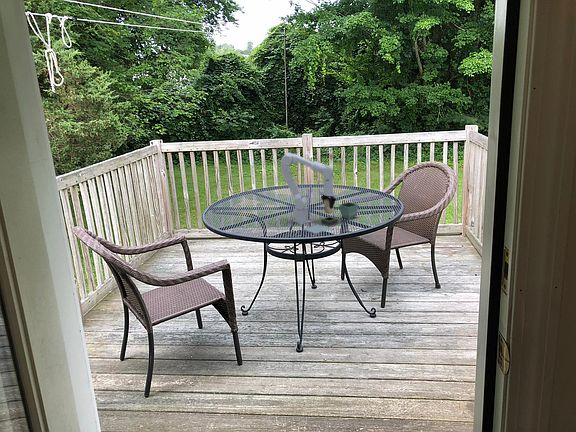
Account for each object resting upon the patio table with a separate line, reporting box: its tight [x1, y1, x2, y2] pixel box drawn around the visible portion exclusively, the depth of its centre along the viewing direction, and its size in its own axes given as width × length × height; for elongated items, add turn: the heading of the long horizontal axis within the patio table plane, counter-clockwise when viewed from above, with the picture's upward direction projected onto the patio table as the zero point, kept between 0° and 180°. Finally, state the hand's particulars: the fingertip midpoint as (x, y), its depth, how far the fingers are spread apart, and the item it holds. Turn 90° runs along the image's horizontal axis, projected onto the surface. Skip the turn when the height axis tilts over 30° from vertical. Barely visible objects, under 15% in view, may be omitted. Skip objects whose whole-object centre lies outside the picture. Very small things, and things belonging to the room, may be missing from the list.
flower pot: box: [338, 201, 359, 220], centre depth 289 cm, size 9×9×9 cm
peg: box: [323, 199, 335, 214], centre depth 282 cm, size 4×4×8 cm
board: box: [302, 223, 332, 235], centre depth 272 cm, size 12×12×1 cm
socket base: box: [311, 216, 348, 228], centre depth 284 cm, size 16×16×2 cm
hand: (329, 207), depth 282 cm, fingers closed on peg, 4 cm apart
